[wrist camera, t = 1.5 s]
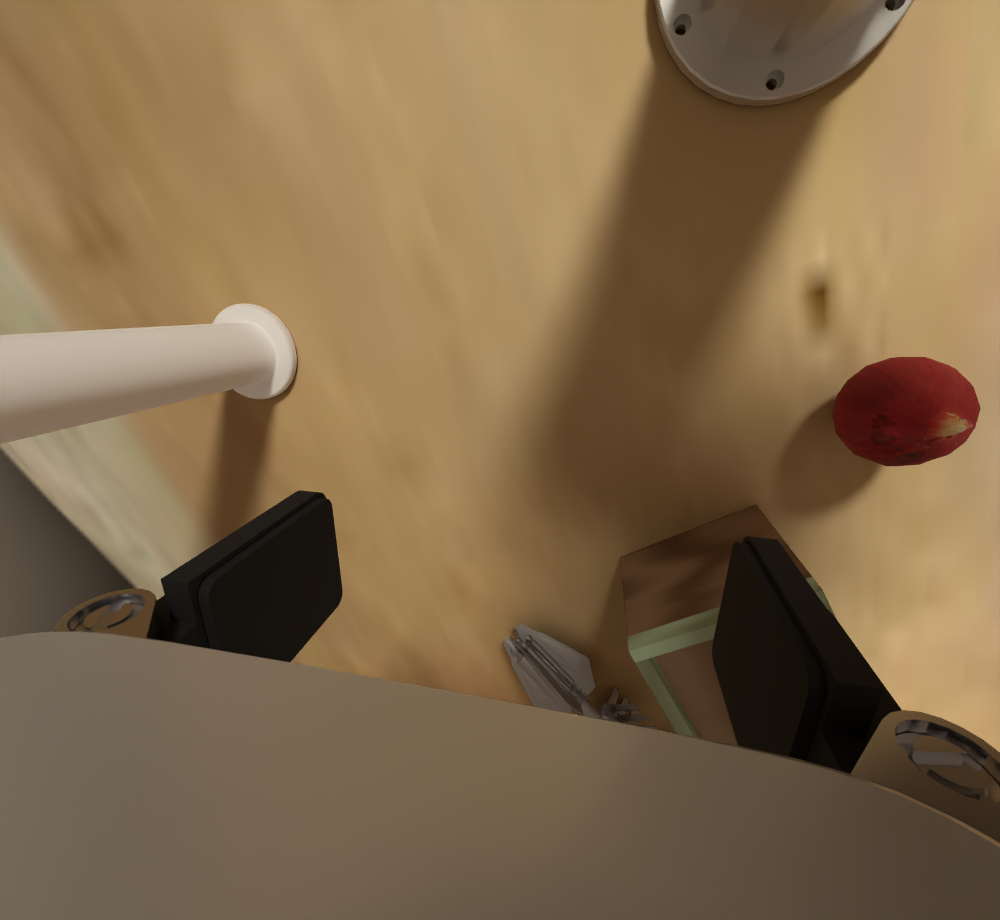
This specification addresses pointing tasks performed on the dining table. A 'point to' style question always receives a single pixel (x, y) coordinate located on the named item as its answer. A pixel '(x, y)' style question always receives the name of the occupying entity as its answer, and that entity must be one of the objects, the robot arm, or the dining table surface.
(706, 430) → the dining table surface
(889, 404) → the onion
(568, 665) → the spaceship
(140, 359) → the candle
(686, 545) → the green shadow box
